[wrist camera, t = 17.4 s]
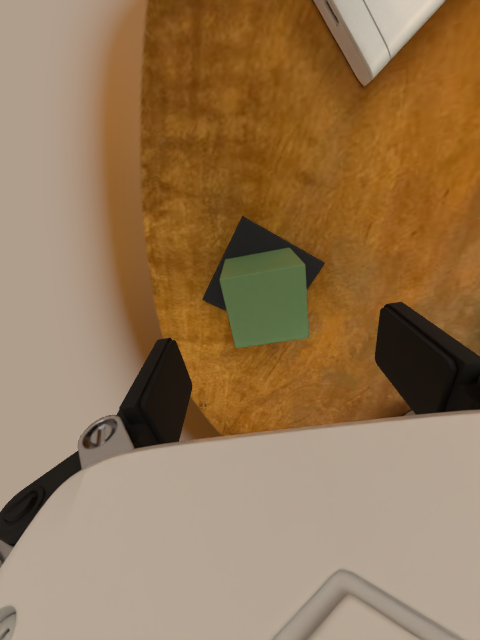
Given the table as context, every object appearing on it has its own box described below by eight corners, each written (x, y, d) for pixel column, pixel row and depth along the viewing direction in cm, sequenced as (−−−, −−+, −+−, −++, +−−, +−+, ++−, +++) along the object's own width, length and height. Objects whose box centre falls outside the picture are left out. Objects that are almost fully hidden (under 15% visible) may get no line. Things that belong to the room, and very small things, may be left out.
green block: (237, 315, 22) (235, 348, 18) (224, 259, 20) (219, 279, 15) (294, 306, 22) (309, 337, 17) (289, 247, 19) (305, 264, 15)
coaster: (202, 298, 22) (202, 299, 22) (242, 215, 19) (242, 216, 18) (275, 332, 24) (276, 334, 23) (323, 262, 20) (325, 263, 20)
